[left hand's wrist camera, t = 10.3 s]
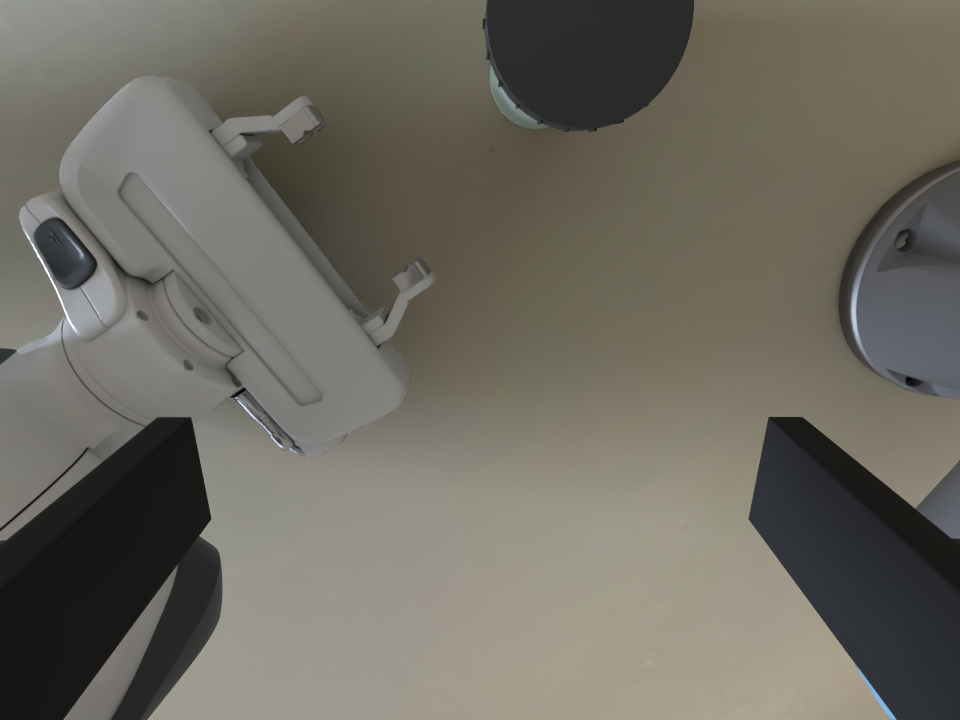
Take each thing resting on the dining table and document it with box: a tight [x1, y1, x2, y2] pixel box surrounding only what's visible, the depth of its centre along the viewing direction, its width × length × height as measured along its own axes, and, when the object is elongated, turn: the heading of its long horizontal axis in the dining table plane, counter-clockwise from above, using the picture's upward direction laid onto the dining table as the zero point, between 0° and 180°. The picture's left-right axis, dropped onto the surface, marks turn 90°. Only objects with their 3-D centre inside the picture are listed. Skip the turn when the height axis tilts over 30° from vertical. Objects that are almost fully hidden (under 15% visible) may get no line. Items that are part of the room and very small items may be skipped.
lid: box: [483, 0, 694, 132], centre depth 18 cm, size 7×7×2 cm
